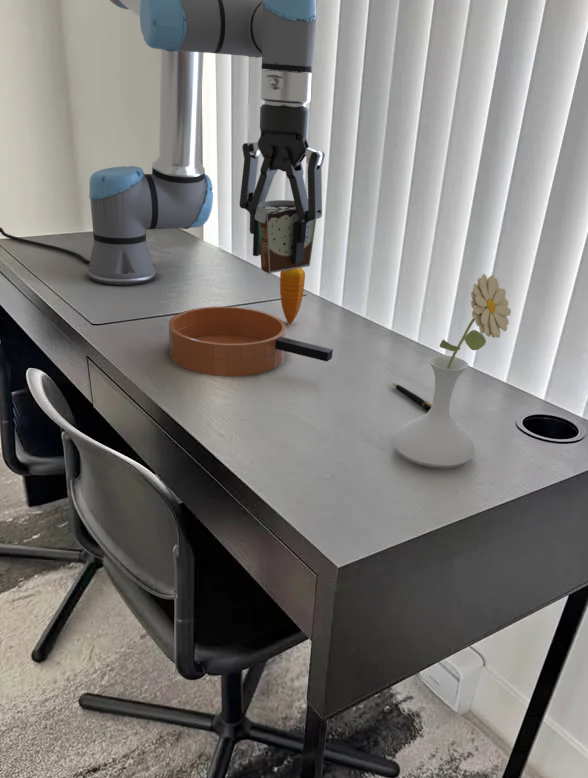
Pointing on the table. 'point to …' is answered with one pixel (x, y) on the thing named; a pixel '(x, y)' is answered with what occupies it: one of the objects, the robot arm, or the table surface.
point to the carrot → (291, 292)
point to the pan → (226, 341)
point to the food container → (280, 236)
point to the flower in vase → (436, 428)
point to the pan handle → (304, 349)
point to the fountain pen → (414, 397)
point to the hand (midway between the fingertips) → (277, 258)
